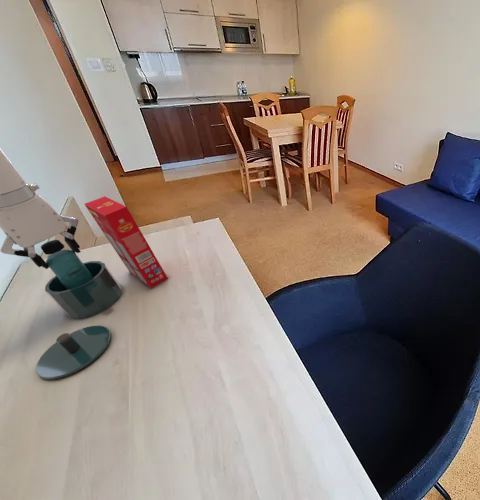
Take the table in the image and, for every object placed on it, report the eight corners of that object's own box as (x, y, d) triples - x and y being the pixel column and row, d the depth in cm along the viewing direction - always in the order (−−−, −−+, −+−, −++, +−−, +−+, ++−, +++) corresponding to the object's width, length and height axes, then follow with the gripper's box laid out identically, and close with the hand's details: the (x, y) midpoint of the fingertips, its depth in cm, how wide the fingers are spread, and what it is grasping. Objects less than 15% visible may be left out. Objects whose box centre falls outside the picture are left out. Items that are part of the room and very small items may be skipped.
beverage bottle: (75, 307, 86) (25, 250, 74) (94, 291, 91) (50, 235, 80) (94, 308, 85) (46, 251, 73) (112, 292, 90) (71, 236, 79)
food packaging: (168, 278, 94) (126, 206, 80) (151, 288, 91) (104, 215, 76) (146, 263, 102) (104, 196, 87) (130, 272, 98) (84, 203, 84)
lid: (56, 391, 65) (38, 375, 62) (28, 365, 71) (10, 350, 68) (124, 340, 75) (111, 324, 72) (94, 321, 81) (81, 306, 78)
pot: (87, 328, 80) (64, 302, 74) (54, 307, 88) (31, 282, 82) (136, 294, 89) (119, 269, 83) (103, 278, 97) (85, 254, 92)
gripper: (48, 180, 77) (90, 239, 87) (-46, 211, 65) (15, 275, 75) (62, 184, 73) (103, 244, 84) (-35, 217, 61) (27, 283, 72)
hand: (61, 258), depth 79 cm, fingers closed on beverage bottle, 6 cm apart
